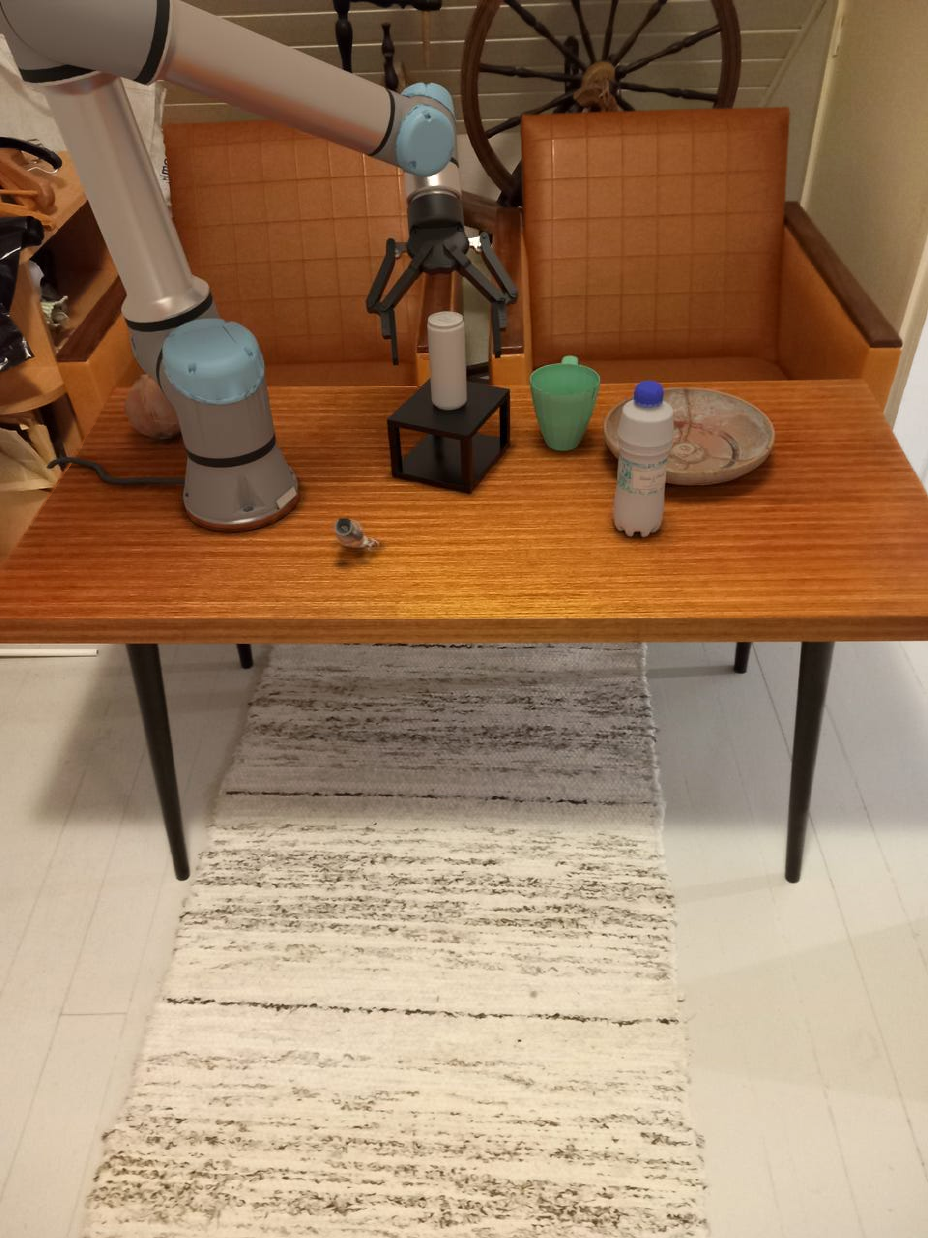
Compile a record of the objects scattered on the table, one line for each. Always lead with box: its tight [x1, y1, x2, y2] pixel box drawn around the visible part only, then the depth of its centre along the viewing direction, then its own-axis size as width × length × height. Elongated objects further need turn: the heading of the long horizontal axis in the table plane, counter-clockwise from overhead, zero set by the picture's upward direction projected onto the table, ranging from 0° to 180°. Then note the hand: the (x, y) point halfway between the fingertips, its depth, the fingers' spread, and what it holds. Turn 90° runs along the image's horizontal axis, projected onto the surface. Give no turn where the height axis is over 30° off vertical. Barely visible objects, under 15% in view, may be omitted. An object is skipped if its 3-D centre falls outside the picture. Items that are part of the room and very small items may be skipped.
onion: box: [124, 373, 181, 441], centre depth 146 cm, size 10×9×10 cm
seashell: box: [324, 517, 380, 551], centre depth 122 cm, size 5×5×6 cm
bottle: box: [612, 380, 674, 538], centre depth 120 cm, size 7×7×20 cm
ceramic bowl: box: [602, 386, 776, 486], centre depth 137 cm, size 23×24×5 cm
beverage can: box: [426, 311, 467, 410], centre depth 131 cm, size 5×5×12 cm
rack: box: [386, 378, 511, 495], centre depth 137 cm, size 12×14×9 cm
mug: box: [529, 355, 601, 452], centre depth 142 cm, size 15×10×10 cm
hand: (447, 358), depth 130 cm, fingers open, 13 cm apart
